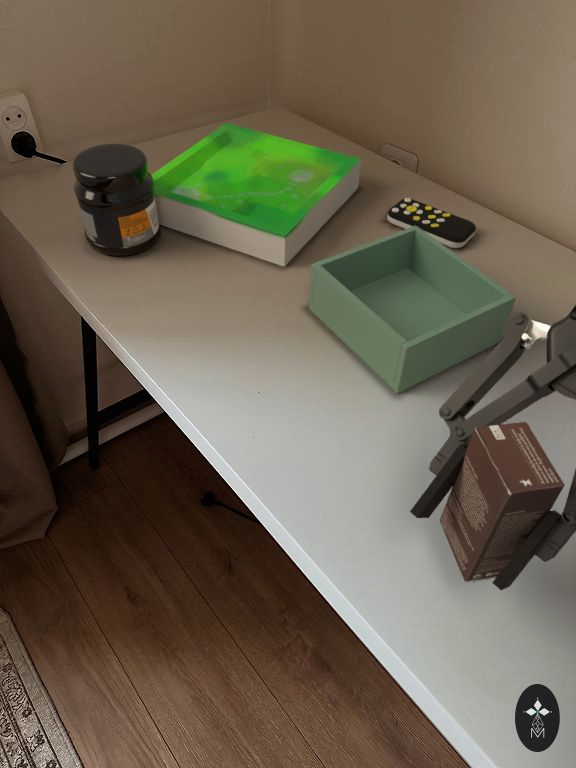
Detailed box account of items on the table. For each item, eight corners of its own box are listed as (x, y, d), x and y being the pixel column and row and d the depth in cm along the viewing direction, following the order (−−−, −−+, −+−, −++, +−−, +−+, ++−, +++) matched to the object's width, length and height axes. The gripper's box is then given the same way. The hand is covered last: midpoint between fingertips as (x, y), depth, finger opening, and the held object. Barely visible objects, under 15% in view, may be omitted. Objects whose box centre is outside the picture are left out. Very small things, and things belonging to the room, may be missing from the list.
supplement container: (175, 241, 91) (165, 163, 83) (109, 268, 87) (92, 188, 78) (137, 210, 97) (124, 134, 88) (73, 234, 92) (53, 155, 84)
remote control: (458, 252, 91) (461, 240, 90) (382, 222, 96) (384, 210, 95) (477, 234, 95) (480, 222, 93) (403, 205, 100) (405, 193, 99)
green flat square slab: (227, 151, 111) (226, 122, 108) (358, 188, 103) (361, 159, 100) (138, 217, 96) (133, 186, 92) (284, 266, 88) (285, 235, 84)
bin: (500, 341, 78) (516, 296, 73) (397, 394, 72) (406, 348, 67) (407, 269, 88) (415, 225, 83) (308, 308, 82) (311, 263, 77)
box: (517, 574, 50) (568, 486, 42) (463, 584, 50) (505, 496, 41) (486, 510, 54) (528, 418, 46) (436, 518, 54) (469, 426, 45)
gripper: (802, 379, 42) (583, 640, 46) (541, 246, 52) (380, 469, 56) (824, 355, 36) (568, 660, 39) (522, 210, 46) (343, 463, 50)
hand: (458, 548), depth 48 cm, fingers closed on box, 7 cm apart
